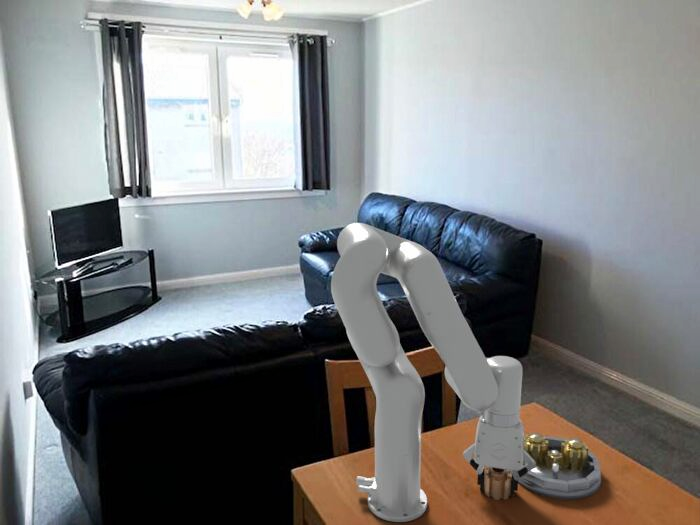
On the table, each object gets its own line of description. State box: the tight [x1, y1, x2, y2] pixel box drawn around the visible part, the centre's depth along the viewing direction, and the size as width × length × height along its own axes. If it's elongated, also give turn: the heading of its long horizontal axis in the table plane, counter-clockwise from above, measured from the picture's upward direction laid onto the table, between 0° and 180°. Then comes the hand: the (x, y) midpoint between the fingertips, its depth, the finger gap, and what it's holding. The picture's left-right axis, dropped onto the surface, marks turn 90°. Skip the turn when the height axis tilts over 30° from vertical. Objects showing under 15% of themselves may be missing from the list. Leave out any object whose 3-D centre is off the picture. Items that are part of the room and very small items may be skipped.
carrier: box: [510, 432, 602, 500], centre depth 131 cm, size 20×20×7 cm
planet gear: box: [482, 467, 512, 501], centre depth 124 cm, size 6×6×6 cm
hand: (497, 489), depth 125 cm, fingers closed on planet gear, 5 cm apart
